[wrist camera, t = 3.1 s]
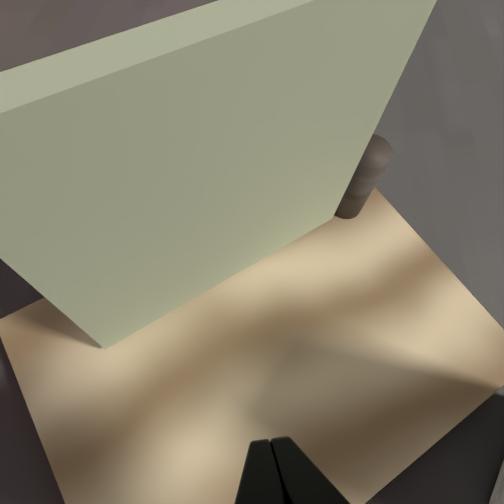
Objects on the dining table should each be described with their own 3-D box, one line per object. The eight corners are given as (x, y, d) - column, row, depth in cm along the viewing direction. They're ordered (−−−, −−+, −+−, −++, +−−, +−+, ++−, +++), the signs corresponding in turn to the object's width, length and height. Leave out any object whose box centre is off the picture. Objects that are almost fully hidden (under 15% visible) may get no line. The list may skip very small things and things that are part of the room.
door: (332, 218, 23) (462, -54, 11) (105, 349, 19) (-119, 155, 7) (305, 187, 24) (396, -99, 12) (82, 305, 20) (-152, 60, 7)
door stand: (519, 364, 22) (617, 336, 16) (144, 680, 15) (101, 807, 10) (336, 159, 27) (365, 87, 22) (4, 327, 21) (-73, 284, 15)
